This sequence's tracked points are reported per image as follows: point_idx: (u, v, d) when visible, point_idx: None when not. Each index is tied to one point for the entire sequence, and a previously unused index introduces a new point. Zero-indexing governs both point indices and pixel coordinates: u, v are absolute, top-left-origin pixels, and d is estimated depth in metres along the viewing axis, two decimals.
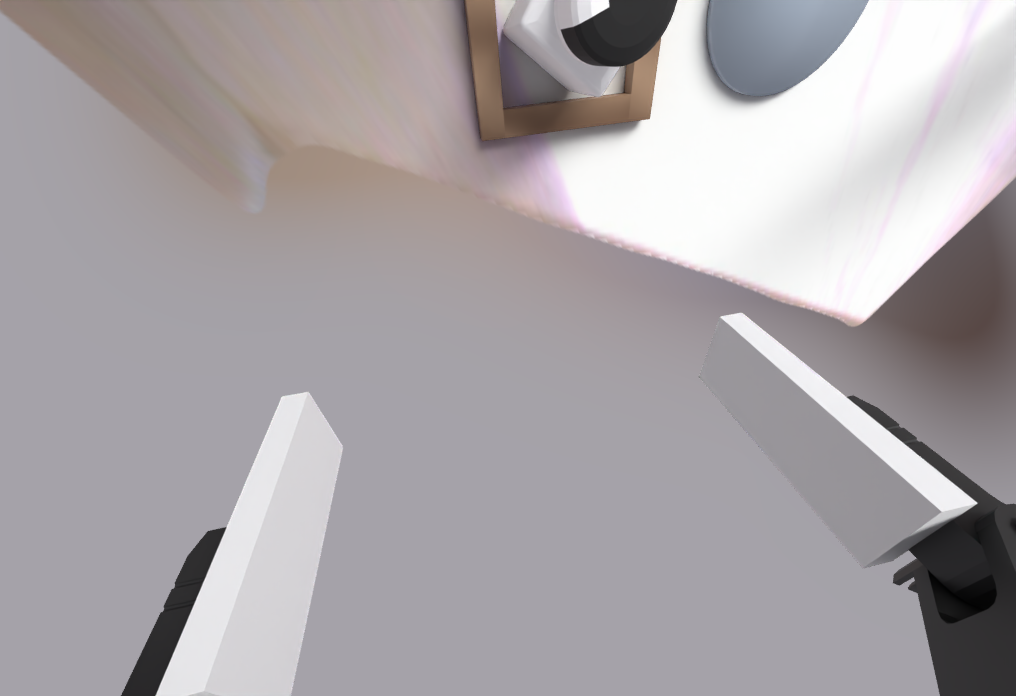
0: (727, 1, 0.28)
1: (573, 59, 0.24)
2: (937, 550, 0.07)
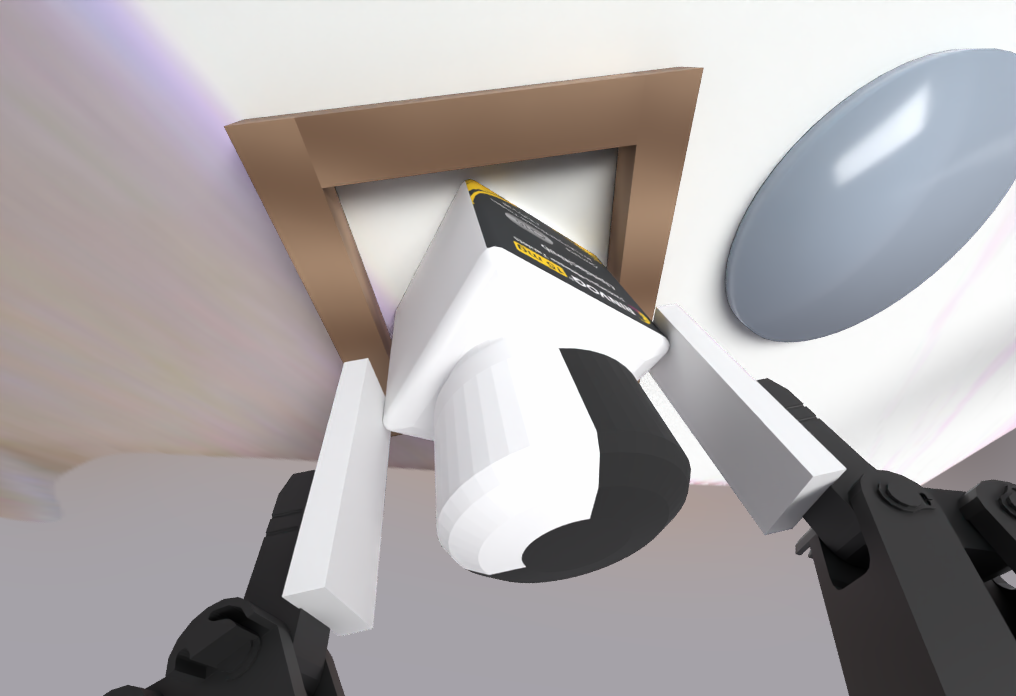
0: (760, 254, 0.18)
1: None
2: (823, 521, 0.08)
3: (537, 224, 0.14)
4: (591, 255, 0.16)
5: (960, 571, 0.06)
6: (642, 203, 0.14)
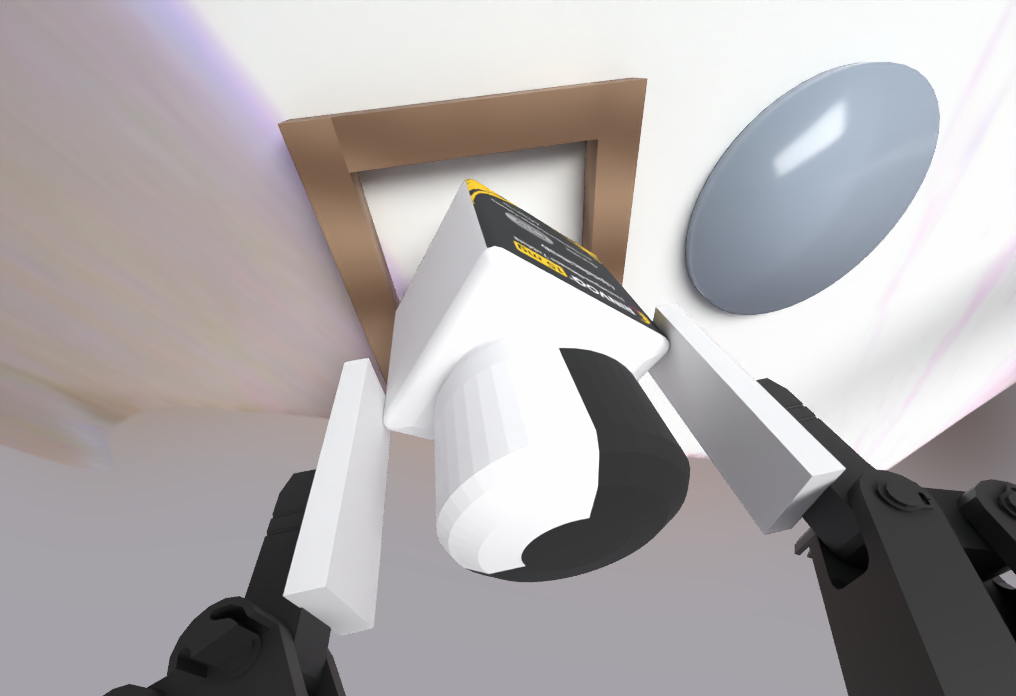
0: (712, 233, 0.21)
1: None
2: (822, 521, 0.08)
3: (537, 224, 0.14)
4: (591, 255, 0.16)
5: (959, 571, 0.06)
6: (606, 187, 0.18)
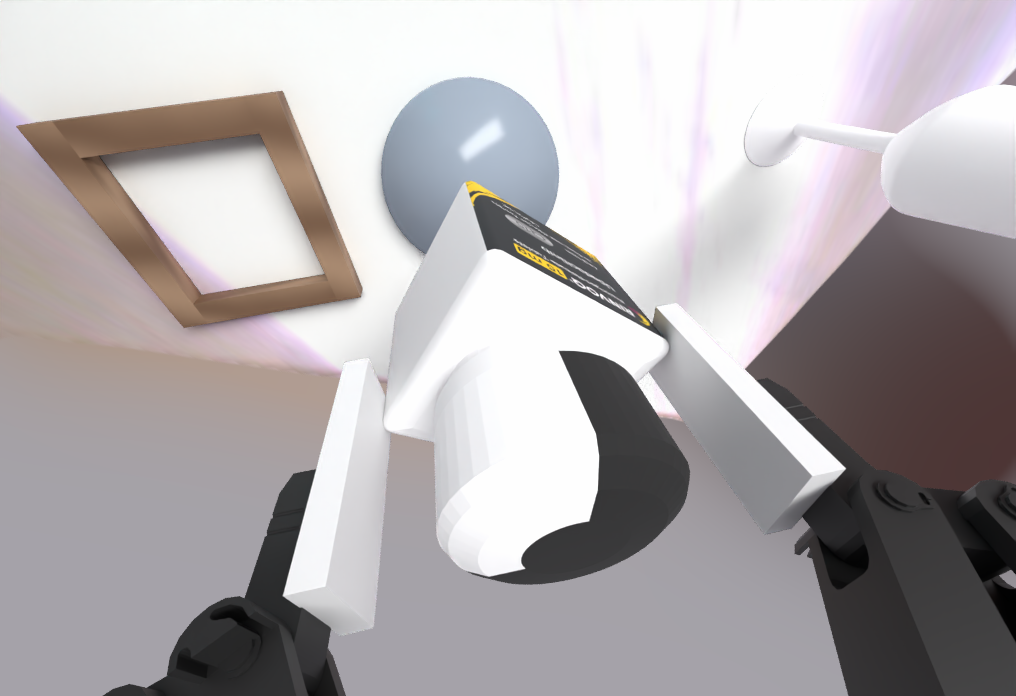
0: (400, 202, 0.29)
1: None
2: (822, 520, 0.08)
3: (537, 226, 0.14)
4: (591, 256, 0.16)
5: (959, 571, 0.06)
6: (284, 167, 0.25)
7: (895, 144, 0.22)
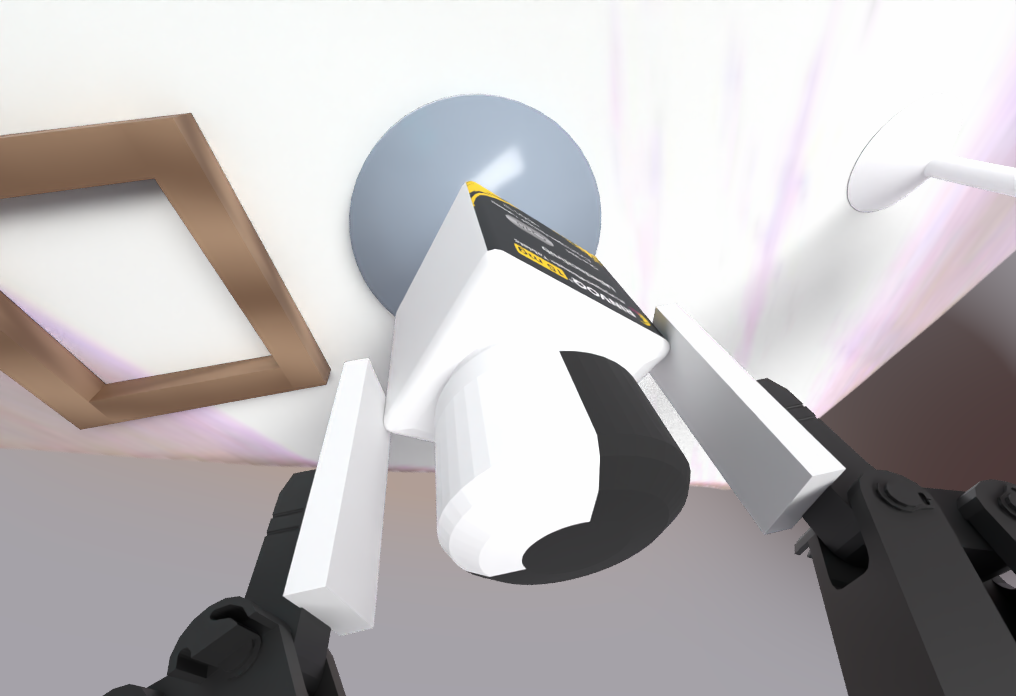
0: (378, 266, 0.20)
1: None
2: (822, 520, 0.08)
3: (537, 226, 0.14)
4: (591, 256, 0.16)
5: (959, 571, 0.06)
6: (199, 226, 0.17)
7: None
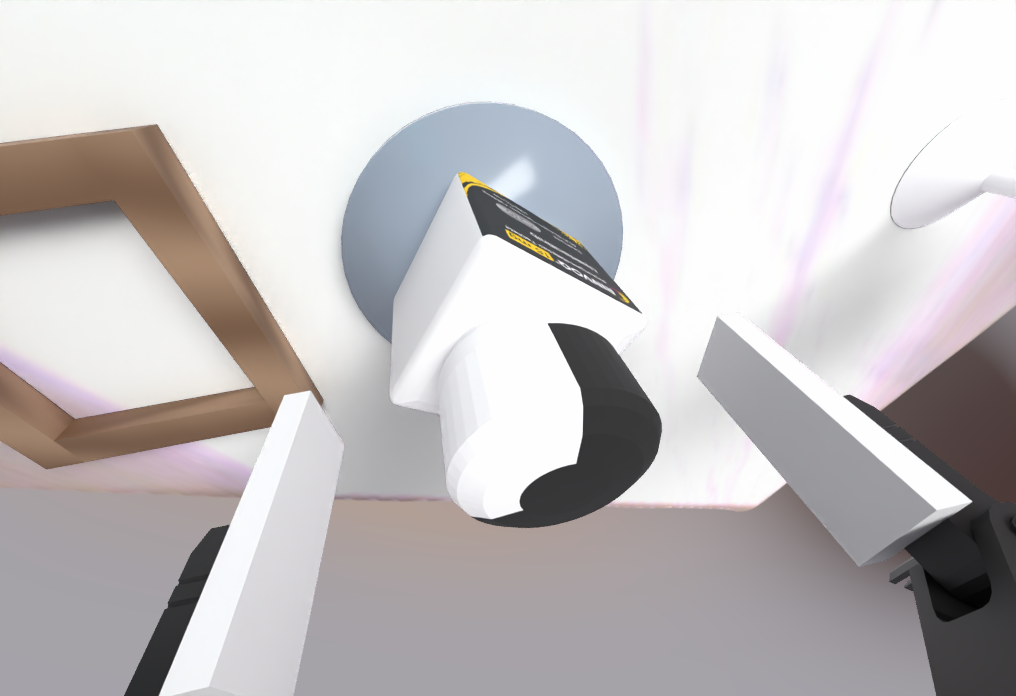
0: (374, 293, 0.18)
1: None
2: (932, 548, 0.07)
3: (525, 213, 0.15)
4: (576, 242, 0.17)
5: None
6: (169, 252, 0.15)
7: None
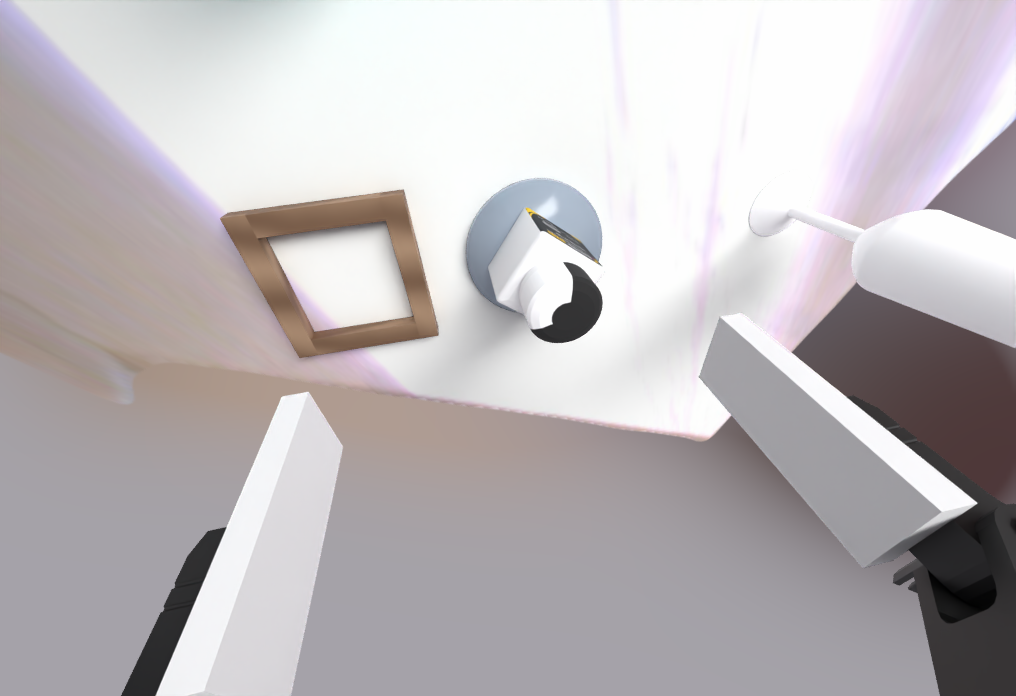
0: (478, 265, 0.37)
1: None
2: (937, 550, 0.07)
3: (554, 226, 0.34)
4: (578, 240, 0.36)
5: None
6: (398, 243, 0.33)
7: (860, 242, 0.29)
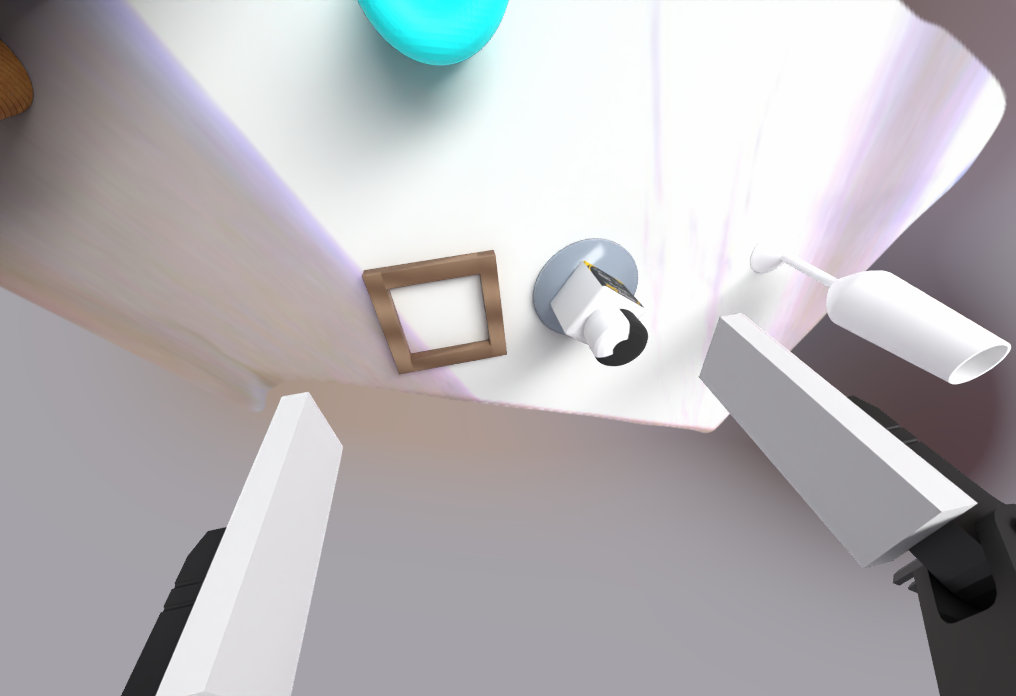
0: (542, 301, 0.47)
1: None
2: (937, 550, 0.07)
3: (604, 273, 0.45)
4: (620, 282, 0.47)
5: None
6: (487, 288, 0.44)
7: (832, 290, 0.40)
